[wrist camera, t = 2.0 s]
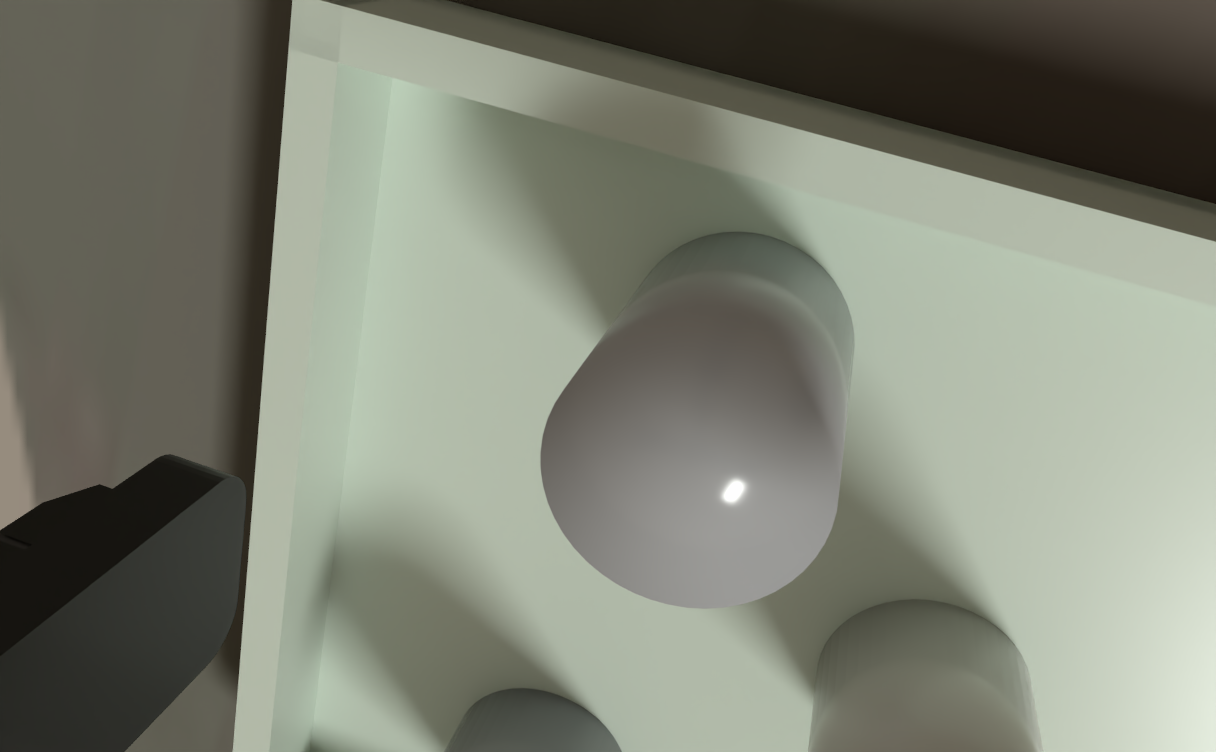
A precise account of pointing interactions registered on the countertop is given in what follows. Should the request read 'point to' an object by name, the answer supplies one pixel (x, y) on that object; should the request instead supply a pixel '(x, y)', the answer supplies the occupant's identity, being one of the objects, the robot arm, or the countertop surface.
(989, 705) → the pebble
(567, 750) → the grey rounded knob
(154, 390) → the countertop surface
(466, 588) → the tray
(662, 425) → the pebble
